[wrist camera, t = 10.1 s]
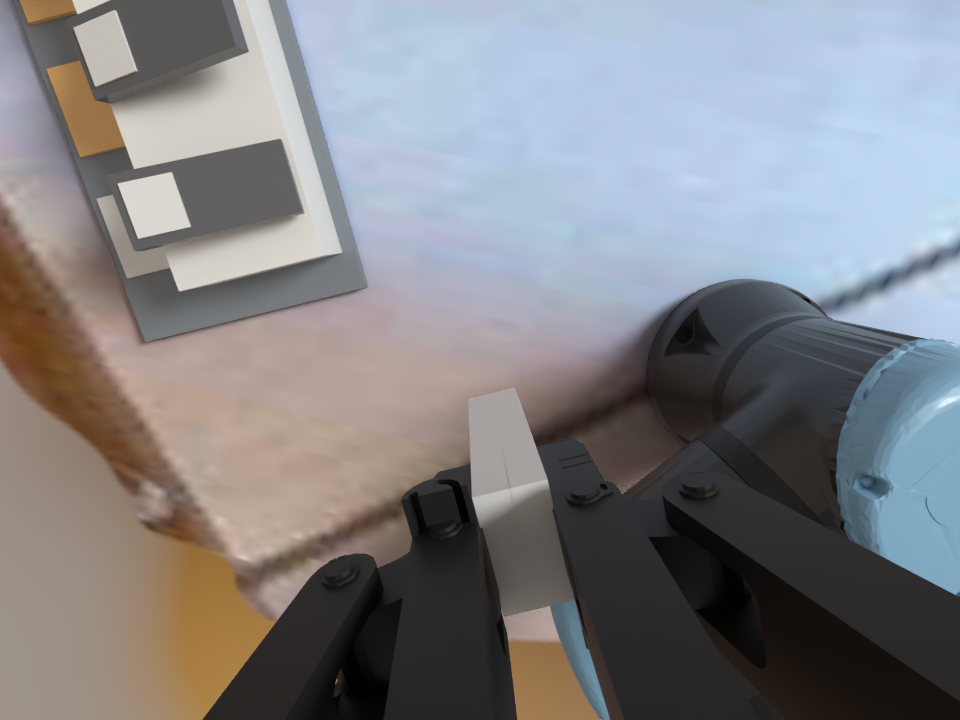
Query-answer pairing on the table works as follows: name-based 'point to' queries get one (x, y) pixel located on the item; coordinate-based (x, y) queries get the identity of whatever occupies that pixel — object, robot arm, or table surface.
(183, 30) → the middle rocker
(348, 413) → the table surface
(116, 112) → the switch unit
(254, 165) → the block
